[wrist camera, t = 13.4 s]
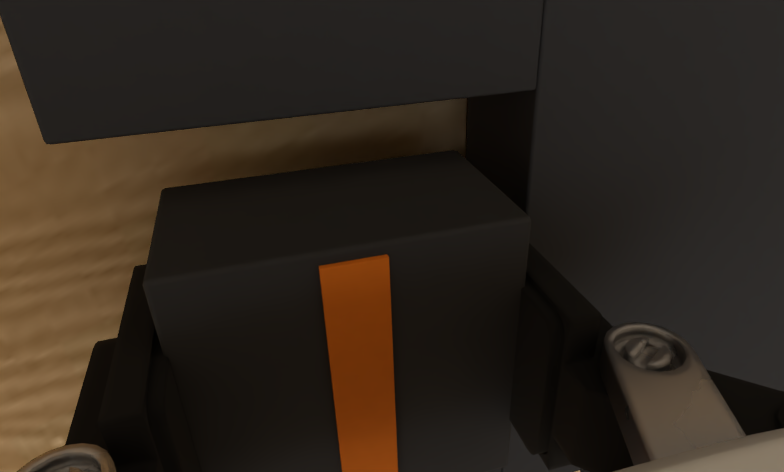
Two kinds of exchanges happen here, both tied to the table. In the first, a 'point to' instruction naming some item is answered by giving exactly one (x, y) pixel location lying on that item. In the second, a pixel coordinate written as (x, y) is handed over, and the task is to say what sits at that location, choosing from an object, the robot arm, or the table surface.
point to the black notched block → (494, 126)
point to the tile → (342, 316)
